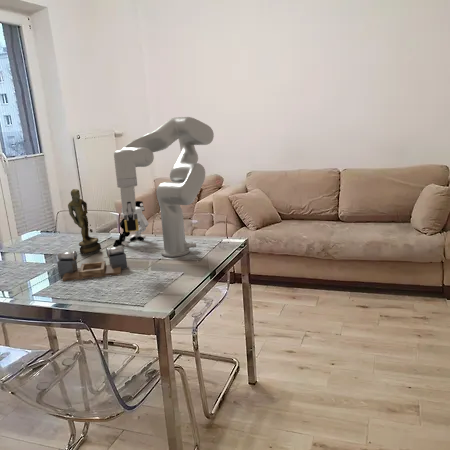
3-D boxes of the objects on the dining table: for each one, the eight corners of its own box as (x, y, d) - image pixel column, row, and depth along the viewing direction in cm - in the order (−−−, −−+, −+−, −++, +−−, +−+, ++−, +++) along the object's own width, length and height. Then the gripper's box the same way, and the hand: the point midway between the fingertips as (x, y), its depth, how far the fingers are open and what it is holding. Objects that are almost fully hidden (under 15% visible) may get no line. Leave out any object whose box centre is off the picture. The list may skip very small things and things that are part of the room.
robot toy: (139, 235, 241) (135, 197, 236) (157, 239, 232) (153, 200, 226) (107, 245, 227) (102, 204, 222) (125, 250, 218) (121, 207, 213)
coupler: (125, 229, 186) (124, 214, 185) (138, 227, 187) (136, 213, 186) (125, 232, 182) (123, 216, 180) (138, 230, 182) (137, 215, 181)
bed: (121, 265, 196) (121, 259, 195) (120, 274, 185) (119, 267, 184) (66, 271, 192) (65, 265, 192) (62, 281, 182) (61, 274, 181)
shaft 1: (59, 275, 188) (55, 253, 186) (63, 272, 192) (60, 250, 190) (75, 275, 187) (72, 253, 185) (79, 271, 191) (76, 249, 189)
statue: (96, 256, 211) (87, 190, 203) (73, 256, 213) (64, 190, 206) (106, 249, 221) (98, 185, 213) (85, 249, 223) (76, 186, 216)
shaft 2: (124, 265, 196) (122, 243, 194) (127, 268, 192) (124, 246, 190) (108, 268, 193) (105, 246, 191) (110, 271, 189) (107, 249, 187)
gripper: (117, 180, 187) (122, 224, 192) (116, 186, 171) (121, 234, 175) (136, 178, 189) (141, 222, 193) (137, 184, 172) (142, 232, 177)
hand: (131, 228), depth 184 cm, fingers closed on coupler, 5 cm apart
